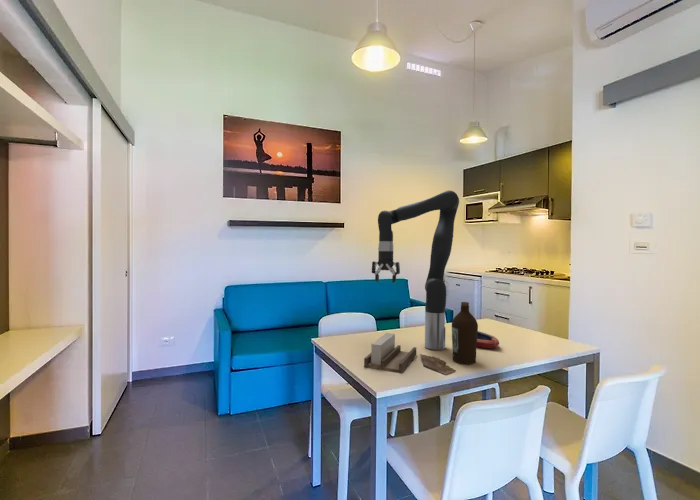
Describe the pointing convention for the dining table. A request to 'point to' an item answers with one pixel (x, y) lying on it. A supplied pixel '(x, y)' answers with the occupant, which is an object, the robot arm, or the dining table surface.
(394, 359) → the rack
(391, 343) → the gray rectangular block
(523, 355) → the dining table surface
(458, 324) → the olive oil
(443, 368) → the wooden fragment
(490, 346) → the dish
